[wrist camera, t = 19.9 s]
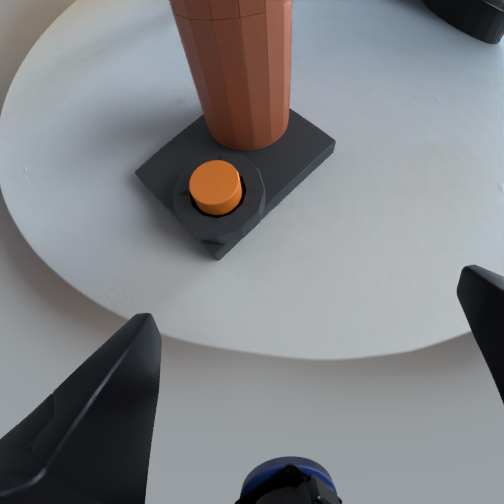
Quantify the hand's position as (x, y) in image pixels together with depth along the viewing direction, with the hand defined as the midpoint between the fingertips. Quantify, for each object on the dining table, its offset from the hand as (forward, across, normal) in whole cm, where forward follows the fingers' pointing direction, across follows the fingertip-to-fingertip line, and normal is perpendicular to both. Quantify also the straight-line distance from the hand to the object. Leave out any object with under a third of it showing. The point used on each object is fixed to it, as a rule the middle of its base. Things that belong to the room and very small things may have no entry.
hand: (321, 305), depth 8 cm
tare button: (+14, +4, +1) cm, 14 cm away
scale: (+19, +2, 0) cm, 19 cm away
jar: (+20, +1, -3) cm, 20 cm away
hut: (+42, -41, -22) cm, 62 cm away
